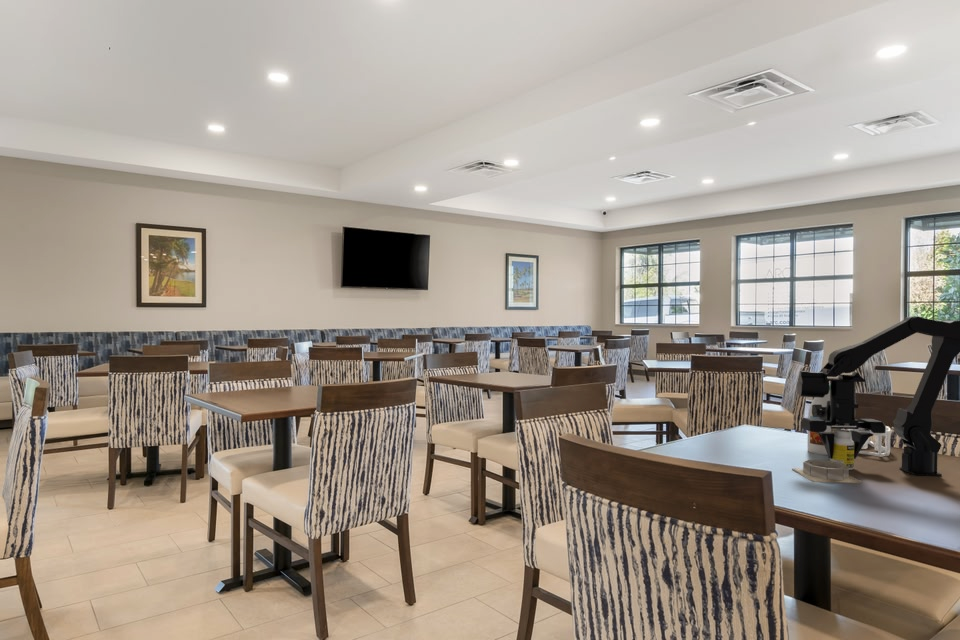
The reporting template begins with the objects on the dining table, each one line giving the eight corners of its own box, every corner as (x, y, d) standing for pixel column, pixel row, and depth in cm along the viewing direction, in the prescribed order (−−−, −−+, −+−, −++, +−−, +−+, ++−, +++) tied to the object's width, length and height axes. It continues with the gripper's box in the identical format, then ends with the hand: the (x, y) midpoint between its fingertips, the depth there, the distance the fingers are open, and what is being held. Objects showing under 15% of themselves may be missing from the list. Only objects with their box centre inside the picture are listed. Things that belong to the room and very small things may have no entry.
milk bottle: (801, 450, 177) (802, 382, 177) (821, 449, 179) (822, 382, 179) (823, 456, 170) (824, 385, 170) (844, 455, 172) (845, 385, 172)
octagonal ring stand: (836, 472, 153) (837, 459, 153) (861, 484, 142) (861, 470, 142) (792, 471, 153) (792, 458, 153) (813, 483, 142) (813, 469, 142)
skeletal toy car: (848, 442, 191) (848, 418, 191) (890, 446, 185) (891, 422, 185) (843, 453, 174) (843, 428, 174) (889, 459, 168) (890, 432, 168)
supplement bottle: (849, 472, 153) (849, 433, 153) (826, 467, 157) (826, 430, 157) (857, 468, 157) (857, 430, 156) (834, 464, 161) (835, 427, 161)
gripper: (862, 395, 164) (861, 452, 164) (791, 393, 165) (790, 450, 165) (887, 400, 153) (886, 462, 153) (811, 399, 154) (810, 460, 154)
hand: (841, 458), depth 157 cm, fingers closed on supplement bottle, 5 cm apart
